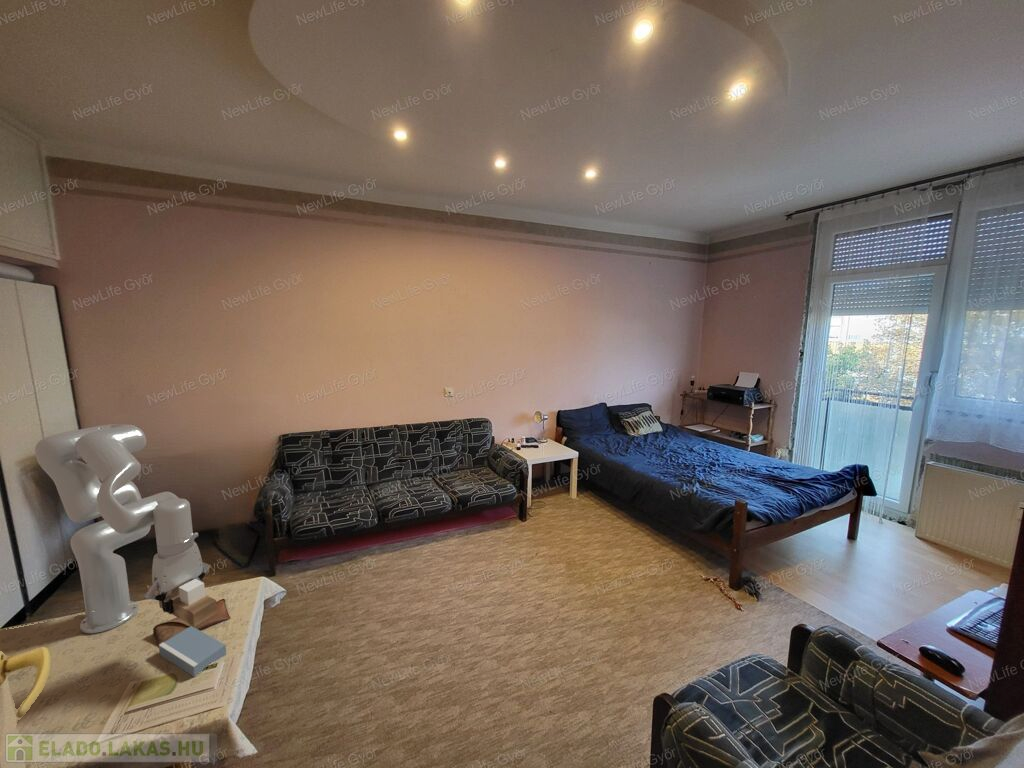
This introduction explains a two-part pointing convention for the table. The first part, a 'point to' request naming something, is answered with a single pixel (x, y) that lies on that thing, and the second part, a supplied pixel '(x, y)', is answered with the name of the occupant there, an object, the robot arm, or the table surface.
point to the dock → (192, 650)
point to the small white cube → (192, 591)
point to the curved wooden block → (192, 608)
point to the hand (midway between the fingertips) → (182, 604)
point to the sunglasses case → (177, 625)
